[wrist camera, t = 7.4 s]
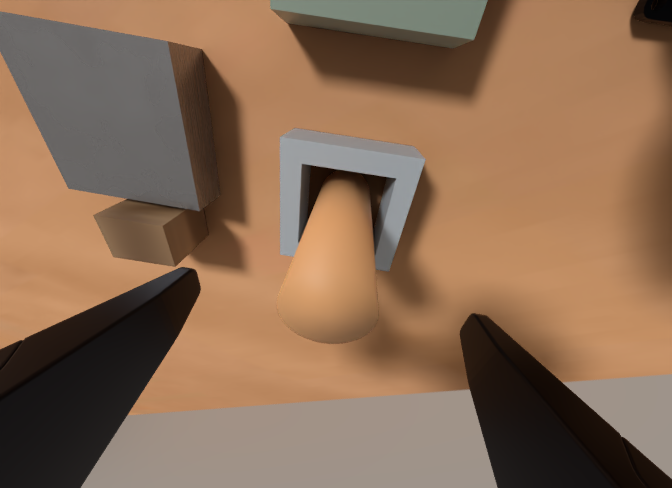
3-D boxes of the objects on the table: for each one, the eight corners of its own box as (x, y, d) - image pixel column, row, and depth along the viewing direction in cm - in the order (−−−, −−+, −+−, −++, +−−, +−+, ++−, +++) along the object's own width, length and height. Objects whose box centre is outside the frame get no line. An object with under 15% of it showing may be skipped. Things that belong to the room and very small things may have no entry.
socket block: (413, 146, 14) (425, 159, 11) (385, 245, 18) (388, 271, 15) (294, 127, 14) (280, 136, 11) (291, 230, 18) (280, 254, 15)
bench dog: (201, 198, 17) (162, 226, 14) (208, 234, 19) (175, 266, 15) (145, 190, 17) (93, 215, 14) (157, 226, 19) (113, 256, 15)
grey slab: (205, 50, 13) (167, 41, 10) (223, 193, 17) (199, 211, 15) (54, 23, 13) (-22, 7, 10) (111, 173, 17) (68, 188, 14)
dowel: (374, 173, 15) (390, 282, 7) (364, 218, 17) (367, 350, 8) (323, 165, 15) (275, 264, 7) (319, 211, 17) (277, 335, 8)
